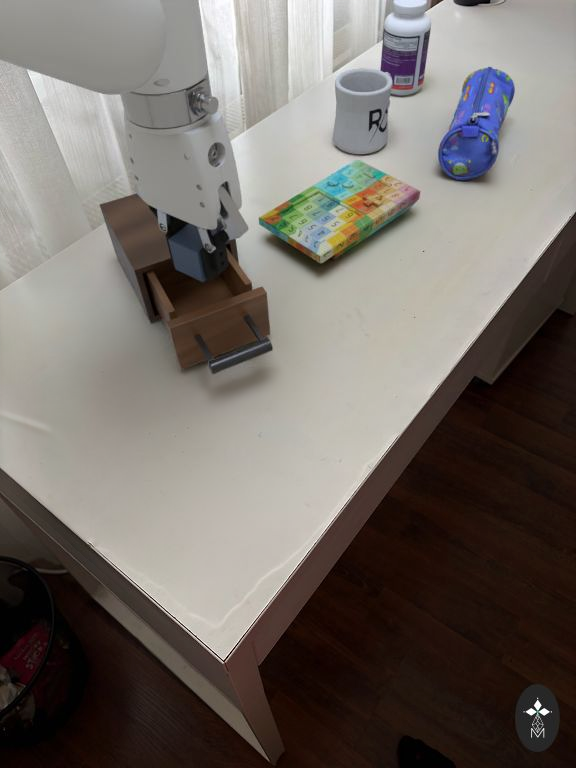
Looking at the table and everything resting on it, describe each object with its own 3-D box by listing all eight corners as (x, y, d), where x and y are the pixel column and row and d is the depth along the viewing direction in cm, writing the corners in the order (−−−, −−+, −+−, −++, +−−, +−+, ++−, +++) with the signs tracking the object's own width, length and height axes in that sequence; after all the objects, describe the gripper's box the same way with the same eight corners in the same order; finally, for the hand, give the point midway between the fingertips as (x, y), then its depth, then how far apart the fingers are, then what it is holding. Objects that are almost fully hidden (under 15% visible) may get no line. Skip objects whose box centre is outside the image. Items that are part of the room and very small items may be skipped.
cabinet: (242, 290, 77) (235, 236, 70) (150, 323, 74) (134, 270, 67) (201, 229, 85) (191, 176, 78) (116, 257, 82) (99, 204, 75)
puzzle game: (421, 185, 82) (319, 250, 74) (416, 213, 86) (319, 279, 78) (359, 154, 88) (258, 212, 79) (357, 182, 91) (260, 240, 83)
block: (203, 282, 62) (197, 252, 59) (175, 269, 64) (167, 239, 61) (226, 261, 64) (222, 231, 61) (199, 249, 66) (193, 219, 63)
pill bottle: (403, 73, 113) (412, -12, 102) (431, 89, 109) (445, 1, 98) (369, 85, 111) (376, -1, 100) (397, 102, 107) (407, 13, 95)
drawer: (292, 366, 67) (290, 324, 62) (199, 405, 64) (189, 364, 59) (226, 269, 78) (219, 227, 73) (144, 298, 75) (131, 256, 70)
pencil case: (488, 190, 89) (504, 129, 81) (431, 180, 91) (441, 120, 83) (507, 119, 101) (523, 61, 94) (457, 112, 103) (468, 54, 96)
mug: (365, 162, 95) (370, 100, 87) (321, 144, 98) (322, 83, 91) (408, 131, 100) (416, 70, 92) (365, 115, 104) (369, 55, 96)
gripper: (273, 102, 48) (283, 273, 63) (127, 57, 55) (167, 222, 69) (215, 143, 45) (240, 315, 59) (66, 90, 51) (121, 257, 65)
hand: (200, 263), depth 64 cm, fingers closed on block, 4 cm apart
